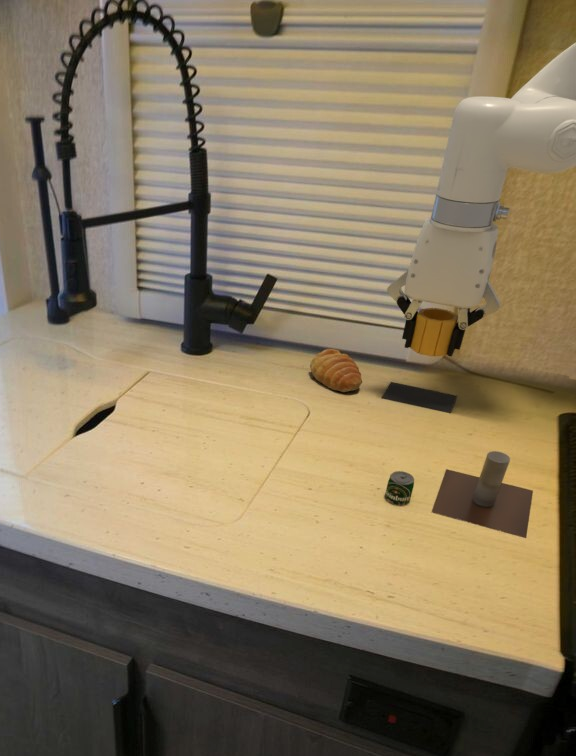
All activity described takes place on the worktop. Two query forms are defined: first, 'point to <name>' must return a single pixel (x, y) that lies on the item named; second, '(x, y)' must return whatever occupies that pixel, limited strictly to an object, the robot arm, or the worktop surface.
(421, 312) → the sleeve
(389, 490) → the beer can
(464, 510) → the stand
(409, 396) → the mat
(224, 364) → the worktop surface
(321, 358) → the pastry
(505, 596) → the worktop surface
